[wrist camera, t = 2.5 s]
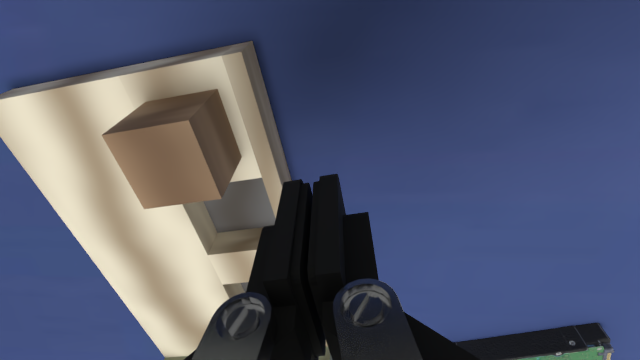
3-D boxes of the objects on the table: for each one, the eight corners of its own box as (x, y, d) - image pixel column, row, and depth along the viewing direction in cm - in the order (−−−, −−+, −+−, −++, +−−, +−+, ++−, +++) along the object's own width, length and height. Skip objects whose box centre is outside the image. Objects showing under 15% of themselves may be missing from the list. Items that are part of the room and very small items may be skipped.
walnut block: (217, 88, 18) (188, 120, 14) (241, 157, 20) (221, 198, 16) (145, 102, 18) (101, 135, 15) (176, 167, 20) (144, 209, 17)
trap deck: (252, 40, 19) (226, 65, 15) (332, 326, 32) (331, 383, 28) (12, 89, 21) (-70, 123, 17) (180, 338, 34) (157, 392, 30)
